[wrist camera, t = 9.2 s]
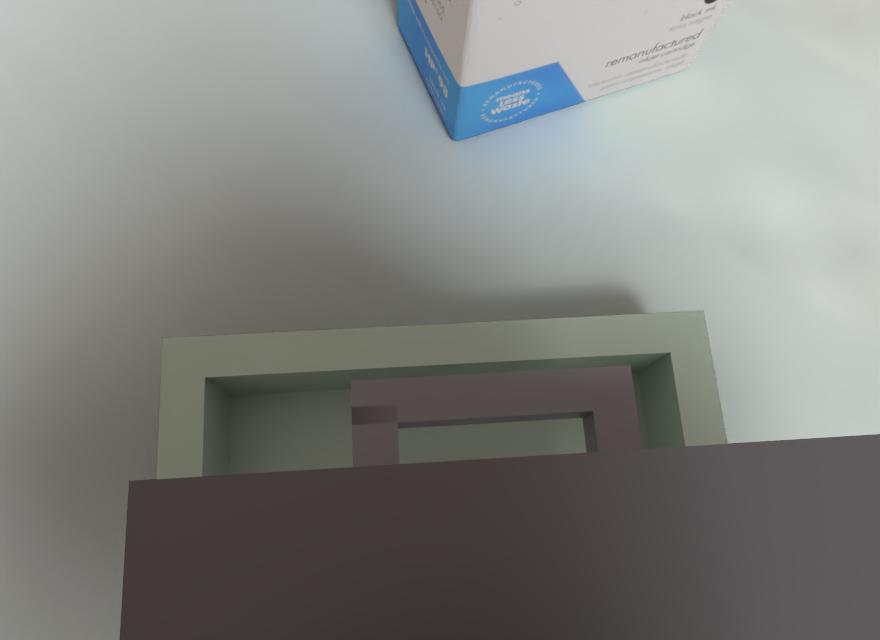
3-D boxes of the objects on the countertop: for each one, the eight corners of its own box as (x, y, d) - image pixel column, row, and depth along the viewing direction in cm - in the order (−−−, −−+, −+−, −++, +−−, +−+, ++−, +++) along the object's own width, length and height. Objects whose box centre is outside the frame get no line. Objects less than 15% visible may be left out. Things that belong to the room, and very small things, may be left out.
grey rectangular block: (615, 726, 15) (1086, 1175, 5) (311, 752, 15) (80, 1311, 4) (580, 445, 17) (869, 313, 6) (308, 462, 17) (137, 350, 6)
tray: (745, 875, 16) (817, 950, 13) (181, 934, 16) (131, 1027, 13) (660, 340, 20) (703, 310, 17) (198, 365, 19) (162, 337, 16)
